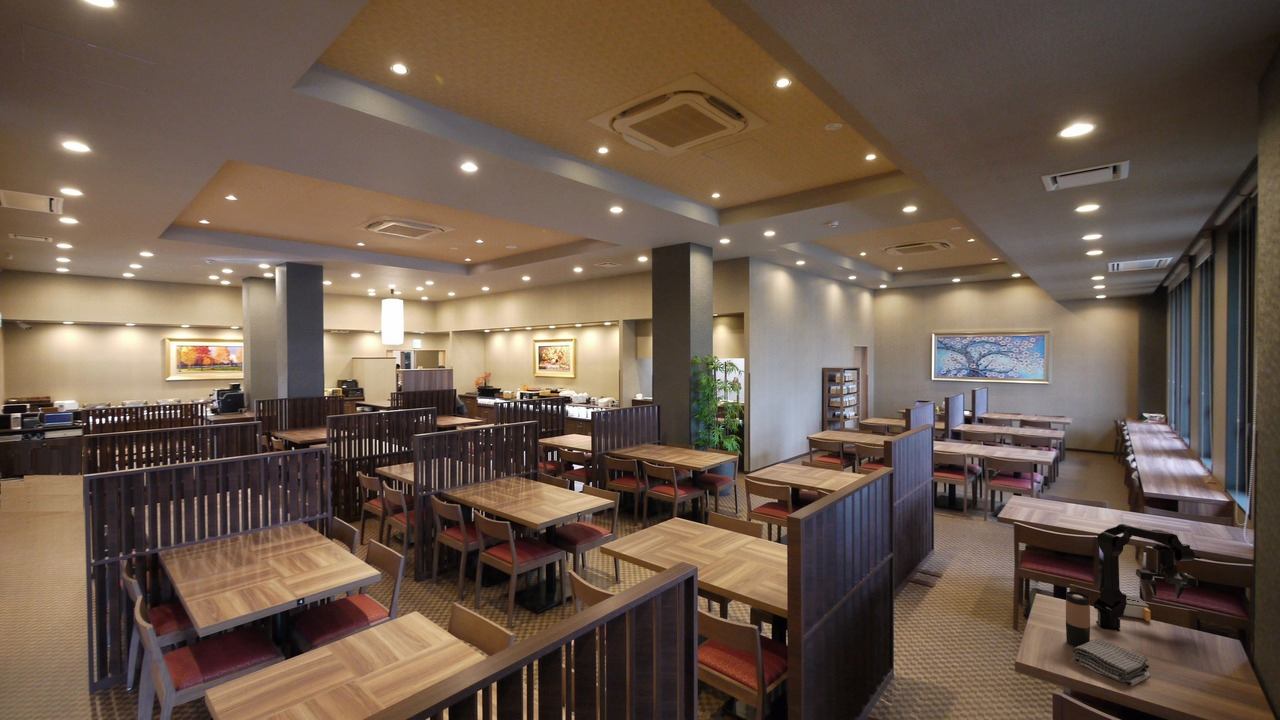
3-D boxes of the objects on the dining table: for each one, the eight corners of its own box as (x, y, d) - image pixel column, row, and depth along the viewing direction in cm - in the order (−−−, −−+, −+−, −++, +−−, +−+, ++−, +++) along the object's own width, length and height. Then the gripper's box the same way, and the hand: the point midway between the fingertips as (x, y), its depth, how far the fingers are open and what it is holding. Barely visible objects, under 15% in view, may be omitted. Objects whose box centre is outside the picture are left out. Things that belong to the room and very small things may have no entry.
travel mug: (1081, 640, 222) (1081, 591, 222) (1095, 650, 215) (1095, 599, 215) (1061, 639, 223) (1061, 590, 223) (1074, 649, 216) (1074, 599, 215)
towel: (1094, 654, 213) (1094, 634, 213) (1153, 679, 196) (1153, 657, 196) (1071, 663, 207) (1071, 642, 207) (1130, 690, 190) (1130, 667, 190)
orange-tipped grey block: (1105, 613, 246) (1105, 598, 246) (1097, 604, 255) (1097, 590, 255) (1148, 619, 240) (1148, 604, 240) (1138, 610, 249) (1138, 595, 249)
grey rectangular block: (1127, 618, 240) (1127, 607, 240) (1123, 614, 243) (1123, 603, 243) (1150, 621, 237) (1150, 610, 237) (1146, 617, 240) (1146, 607, 240)
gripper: (1146, 564, 231) (1146, 600, 231) (1205, 570, 224) (1205, 608, 224) (1135, 555, 241) (1135, 590, 242) (1190, 561, 234) (1190, 597, 234)
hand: (1165, 597), depth 235 cm, fingers open, 7 cm apart
